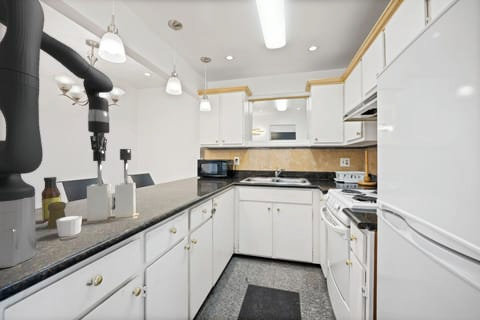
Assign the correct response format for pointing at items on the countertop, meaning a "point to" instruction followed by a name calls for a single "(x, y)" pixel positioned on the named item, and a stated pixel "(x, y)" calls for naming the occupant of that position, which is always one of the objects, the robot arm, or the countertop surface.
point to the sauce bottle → (49, 196)
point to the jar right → (125, 200)
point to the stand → (112, 219)
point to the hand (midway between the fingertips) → (99, 160)
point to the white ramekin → (69, 226)
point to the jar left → (98, 202)
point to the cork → (55, 213)
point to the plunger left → (103, 158)
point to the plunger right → (125, 162)
